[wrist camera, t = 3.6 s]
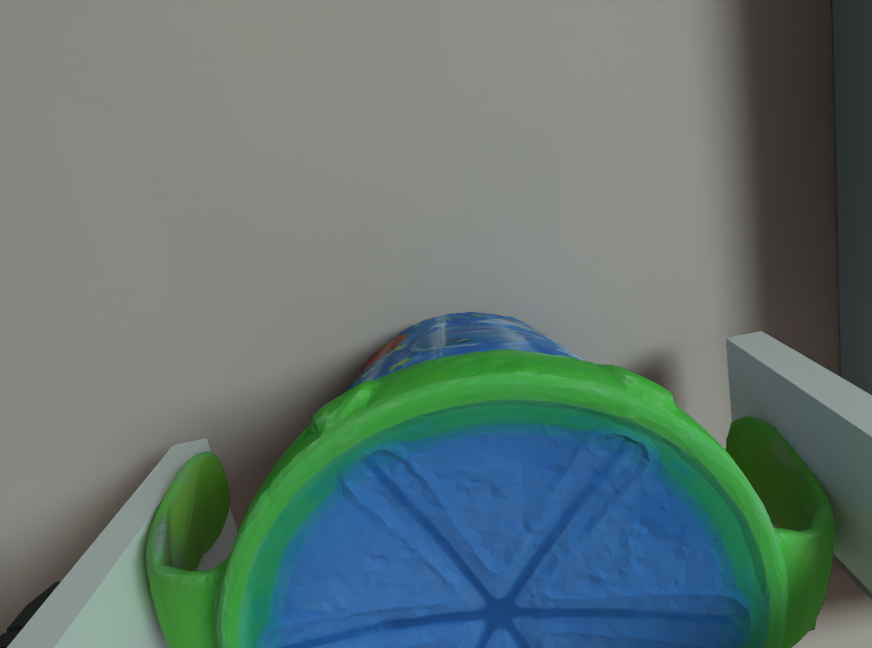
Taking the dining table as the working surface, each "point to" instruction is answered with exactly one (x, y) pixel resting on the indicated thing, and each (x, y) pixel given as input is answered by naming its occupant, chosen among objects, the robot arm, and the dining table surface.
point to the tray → (854, 190)
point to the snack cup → (500, 514)
